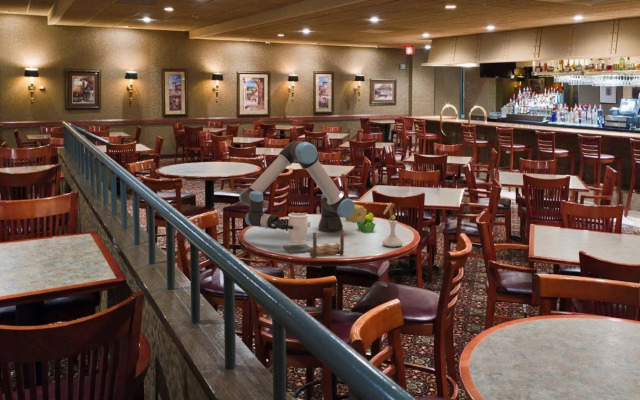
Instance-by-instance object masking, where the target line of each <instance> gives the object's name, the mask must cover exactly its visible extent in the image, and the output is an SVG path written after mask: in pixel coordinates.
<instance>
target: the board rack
mask: <svg viewBox="0 0 640 400" xmlns="http://www.w3.org/2000/svg"><path fill="white" fill-rule="evenodd" d="M339 232H340V233H339V236H340V238H339V239H340V243H338V242H330V243H317V239H318V238H317V237H318V236H317V234H318V233H317V232H312V246H311V251H310V252H309V255H310V256H311V257H312V256H313V257H312V258H313V259H316V258H317V257H316V256H319V257H327V256H326V255H331V256H337V255H336V254H340V255H339V256H341V255H343V254H345V253H344V252H345V250H344V249H345V246H344V245H345V231H344V230H342V231H339ZM343 256H344V255H343Z"/></svg>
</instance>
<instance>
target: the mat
mask: <svg viewBox="0 0 640 400" xmlns="http://www.w3.org/2000/svg"><path fill="white" fill-rule="evenodd" d="M311 247H312V246H311ZM311 247H310V245H308V244H306V243H297V244H290V245H289V244H285V245H282V248H283V249H284V250H285V251H286V252H287V253H289V254H290V255H292V254H293V255H294V253H295V254H306V252H308V253H310V251H311Z"/></svg>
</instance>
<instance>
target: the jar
mask: <svg viewBox="0 0 640 400" xmlns="http://www.w3.org/2000/svg"><path fill="white" fill-rule="evenodd" d="M287 216H288V219H289V221H288V224H291V225H298V226H299V231H296V230H289V229H288V235H289V238H290V239H289V243H291V244H306V241H307V240H306V237H307V235H308V228H309V227H308V222H309V221H308V217H309V215H308V213H303V212H295V213H288V215H287Z"/></svg>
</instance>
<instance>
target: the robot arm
mask: <svg viewBox="0 0 640 400" xmlns="http://www.w3.org/2000/svg"><path fill="white" fill-rule="evenodd" d="M319 159H320V157H319V155H318V150H317V148H316V146H315V145H314V144H312V143H311V142H307V141H300V140H294V141H290V143H288V144H286V146H284V147H283V149H282V150H280V152H279V153H278V154H277V158H276V159H275V160H273V162H272V163H271V164H269V166H268V167H267V168H266V169H265V170H264V171H263V172H262V173H261V174H260V176H259V177H258V178H256V180H255V181H254V182H253V183H252V184H251V185H250V186H249V188H247V189H246V190H244V191H241V192H240V193H239V195H238V199H239V201H240V203H242V204H243V205H245V206H248V207H249V211H248V212H247V213H246V214H245V217H244V222H245V223H246V225H248V226H252V227H256V228H257V227H258V228H264V229H267V230H268V229H270V230H271V229H272V230H277V229H279V230H283V231H285V232H287V231H288V232H289V230H296V231H299V226H298V225H291V224H288V221H289V218H280V217H279V216H278V215H276V214H275V215H274V214H269V213H268V214H266V213H264V192H265V191H266V190H267V188H268V187H269V186H270V185H271V184H272V183H273V182H274V181H275V180H276V179H277V177H279V176H280V175H281V173H283V172H284V170H286V168H287V167H289V166H290V167H291V165H292V164H293V163H295V162H297V163H298V164H299V166H300V167H301V168H302V170H306V171H307V172H308V174H309V176H310V177H311V178H312V180H313V181H314V183H315V184H316V185H317V186H318V188H319V189H320V191H321V193H322V194H321V198H320V202H321V203H320V208H321V212H320V215H321V216H320V220H319V222H318V228H317V229H318V231H320V232H325V233H338V232H340V231H344V229H343V228H344V227H343V226H344V225H343V222H342V220H341V218H344V219H346V218H347V217H349V216H351V215H352V213H353V212H354V208H355V206H354V205H355V202H354V201H353V200H352V199H351V198H349V197H347V195H346V193H345V192H344V191H343V190H340V189H339V188H338V187H337V185H336V184H335V183H334V180H333V179H332V178H331V176H330V175H329V174H328V173H327V171H326V170H325V168H324V167H323V165H322V163H321V162H320V161H319ZM308 228H311V222H310V221H308ZM288 229H289V230H288Z"/></svg>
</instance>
